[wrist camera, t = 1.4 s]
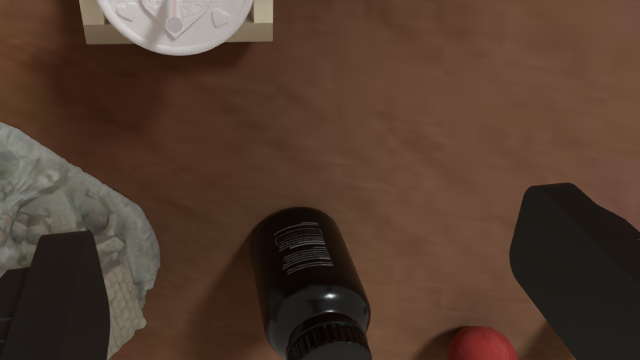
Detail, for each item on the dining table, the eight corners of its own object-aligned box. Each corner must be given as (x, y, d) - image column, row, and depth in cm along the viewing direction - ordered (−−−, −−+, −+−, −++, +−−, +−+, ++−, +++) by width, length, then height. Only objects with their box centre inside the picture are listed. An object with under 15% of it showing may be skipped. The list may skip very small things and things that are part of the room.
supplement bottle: (234, 264, 42) (252, 400, 32) (273, 191, 39) (306, 315, 29) (314, 285, 45) (353, 416, 35) (356, 218, 42) (411, 340, 32)
